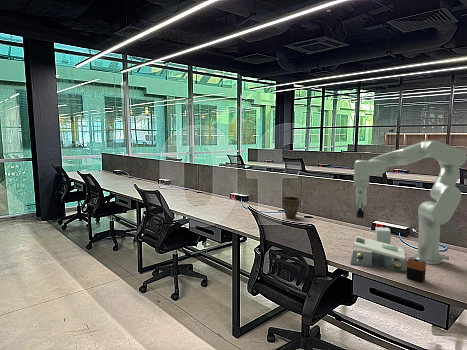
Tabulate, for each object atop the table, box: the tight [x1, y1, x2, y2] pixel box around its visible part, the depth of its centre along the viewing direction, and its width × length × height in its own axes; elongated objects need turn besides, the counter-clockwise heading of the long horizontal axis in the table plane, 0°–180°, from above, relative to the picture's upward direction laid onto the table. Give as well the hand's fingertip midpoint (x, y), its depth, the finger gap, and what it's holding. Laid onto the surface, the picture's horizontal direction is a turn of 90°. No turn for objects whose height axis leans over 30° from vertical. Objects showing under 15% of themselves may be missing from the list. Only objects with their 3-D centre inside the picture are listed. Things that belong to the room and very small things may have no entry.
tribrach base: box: [350, 249, 407, 273], centre depth 170 cm, size 26×20×6 cm
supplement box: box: [374, 226, 392, 245], centre depth 186 cm, size 7×7×13 cm
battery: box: [405, 256, 427, 283], centre depth 147 cm, size 4×7×10 cm, turn 43°
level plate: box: [353, 235, 406, 261], centre depth 169 cm, size 24×16×4 cm, turn 65°
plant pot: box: [281, 196, 301, 219], centre depth 265 cm, size 15×15×16 cm
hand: (360, 217), depth 171 cm, fingers closed
